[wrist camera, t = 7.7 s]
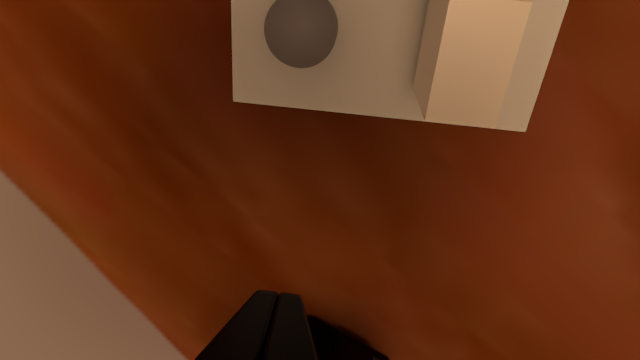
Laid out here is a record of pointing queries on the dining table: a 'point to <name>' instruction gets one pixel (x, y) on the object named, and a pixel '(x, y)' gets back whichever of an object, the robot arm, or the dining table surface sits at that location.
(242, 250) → the dining table surface
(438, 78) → the slider
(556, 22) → the panel
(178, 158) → the dining table surface
